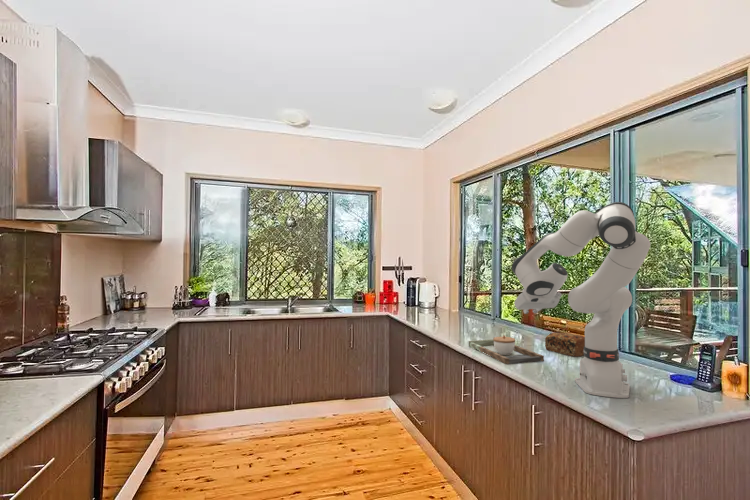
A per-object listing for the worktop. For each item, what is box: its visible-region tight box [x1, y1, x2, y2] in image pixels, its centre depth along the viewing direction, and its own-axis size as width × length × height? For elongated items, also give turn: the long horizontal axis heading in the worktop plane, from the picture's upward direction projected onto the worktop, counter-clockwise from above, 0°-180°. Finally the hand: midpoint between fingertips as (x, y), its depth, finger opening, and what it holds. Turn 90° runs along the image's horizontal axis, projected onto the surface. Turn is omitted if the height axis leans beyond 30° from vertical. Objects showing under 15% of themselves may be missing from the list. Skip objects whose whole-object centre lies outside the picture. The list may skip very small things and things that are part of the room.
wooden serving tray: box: [468, 339, 545, 365], centre depth 204 cm, size 38×20×3 cm, turn 14°
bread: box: [544, 332, 585, 358], centre depth 204 cm, size 19×11×10 cm, turn 24°
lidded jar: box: [493, 335, 516, 356], centre depth 203 cm, size 11×11×9 cm
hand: (529, 312), depth 182 cm, fingers open, 3 cm apart
